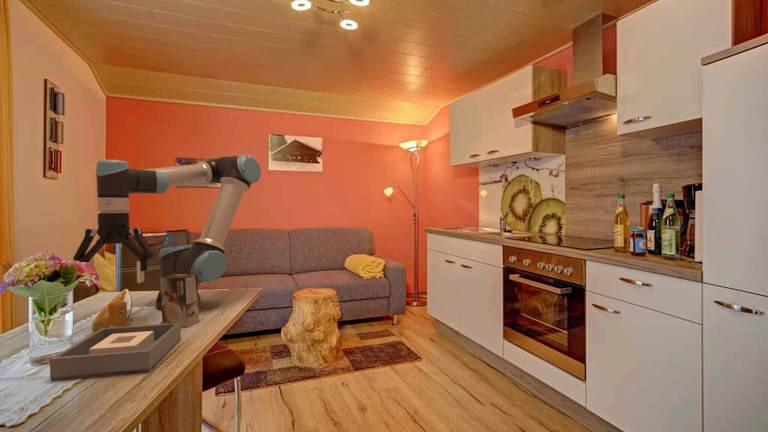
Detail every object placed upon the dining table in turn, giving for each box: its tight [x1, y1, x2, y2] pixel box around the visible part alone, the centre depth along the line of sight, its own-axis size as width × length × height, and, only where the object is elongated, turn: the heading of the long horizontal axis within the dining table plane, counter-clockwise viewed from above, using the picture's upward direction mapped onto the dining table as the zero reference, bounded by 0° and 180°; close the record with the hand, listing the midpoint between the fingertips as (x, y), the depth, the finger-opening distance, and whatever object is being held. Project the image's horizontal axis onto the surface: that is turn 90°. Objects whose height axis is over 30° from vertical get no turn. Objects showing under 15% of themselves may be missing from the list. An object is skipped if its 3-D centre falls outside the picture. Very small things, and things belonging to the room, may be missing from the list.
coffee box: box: [159, 274, 200, 328], centre depth 116 cm, size 9×6×16 cm
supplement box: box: [108, 300, 128, 328], centre depth 106 cm, size 3×3×10 cm
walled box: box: [49, 323, 182, 382], centre depth 91 cm, size 20×20×5 cm
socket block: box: [89, 331, 154, 354], centre depth 91 cm, size 10×10×4 cm
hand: (115, 283), depth 105 cm, fingers open, 13 cm apart
